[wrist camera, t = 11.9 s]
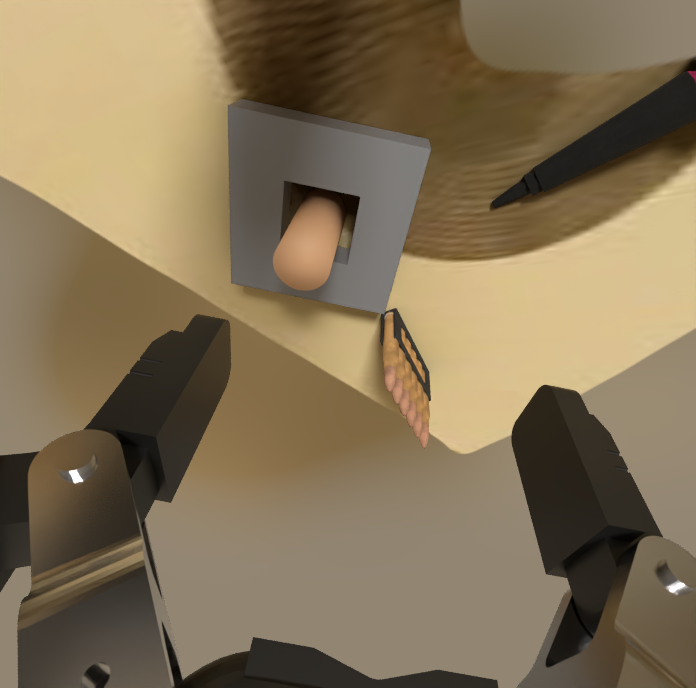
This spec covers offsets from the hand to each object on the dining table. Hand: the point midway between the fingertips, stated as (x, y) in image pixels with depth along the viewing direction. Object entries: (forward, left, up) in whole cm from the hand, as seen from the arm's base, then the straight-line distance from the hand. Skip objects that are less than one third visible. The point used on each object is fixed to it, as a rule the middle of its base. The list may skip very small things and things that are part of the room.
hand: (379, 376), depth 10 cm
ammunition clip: (+22, +7, -30) cm, 38 cm away
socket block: (+8, -5, -30) cm, 31 cm away
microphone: (-4, +17, -30) cm, 35 cm away
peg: (+8, -5, -30) cm, 31 cm away
